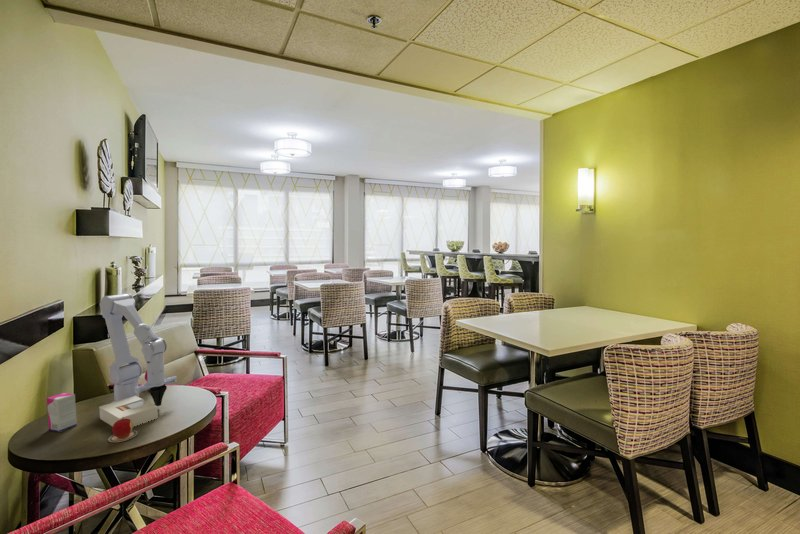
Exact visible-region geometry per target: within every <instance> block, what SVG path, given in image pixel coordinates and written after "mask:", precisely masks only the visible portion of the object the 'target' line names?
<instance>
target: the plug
mask: <svg viewBox="0 0 800 534" xmlns="http://www.w3.org/2000/svg"><path fill="white" fill-rule="evenodd" d="M143 404H147V403H146V402H144V401H143V402H142V401H140V402H137V403H133V404H130V405H127V406H126V409H131V408H134V407H137V406H140V405H143Z"/></svg>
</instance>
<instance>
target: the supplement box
mask: <svg viewBox="0 0 800 534" xmlns="http://www.w3.org/2000/svg"><path fill="white" fill-rule="evenodd" d="M46 409H47V420H48V422H47V423H48V431H51V432H56V433H60V432H61V433H62V432H63V431H66V430H68V429H71V428H74V427H77V426H78V425H77V424H78V423H77V408H76V394H75V393H69V392H62V393H59V394H56V395H52V396H49V397H47V398H46Z"/></svg>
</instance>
